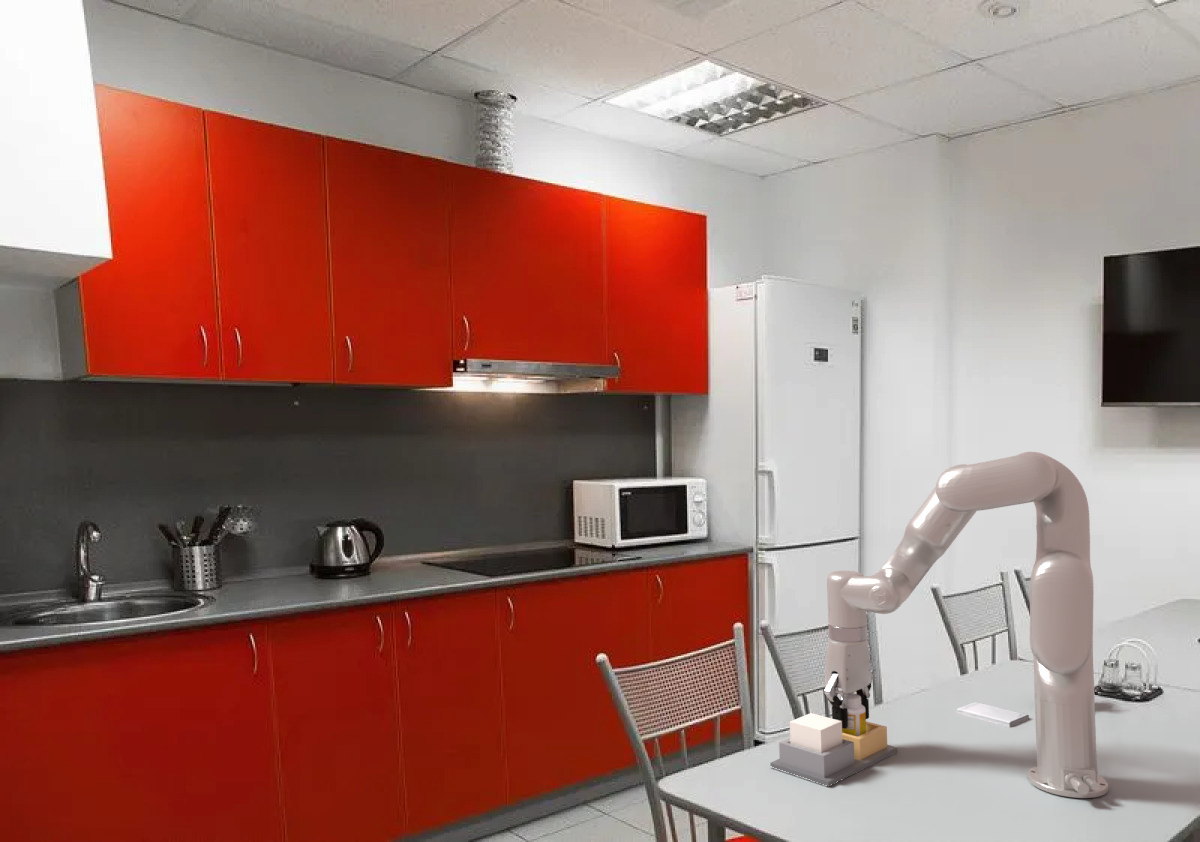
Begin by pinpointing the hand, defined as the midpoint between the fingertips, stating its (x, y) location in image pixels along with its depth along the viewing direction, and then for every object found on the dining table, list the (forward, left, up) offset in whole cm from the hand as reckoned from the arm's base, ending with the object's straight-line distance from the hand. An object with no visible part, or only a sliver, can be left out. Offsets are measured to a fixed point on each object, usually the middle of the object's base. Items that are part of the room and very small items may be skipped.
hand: (850, 721), depth 173 cm
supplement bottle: (0, 0, -5) cm, 5 cm away
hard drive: (+22, -35, -7) cm, 42 cm away
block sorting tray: (-4, +4, -6) cm, 9 cm away
